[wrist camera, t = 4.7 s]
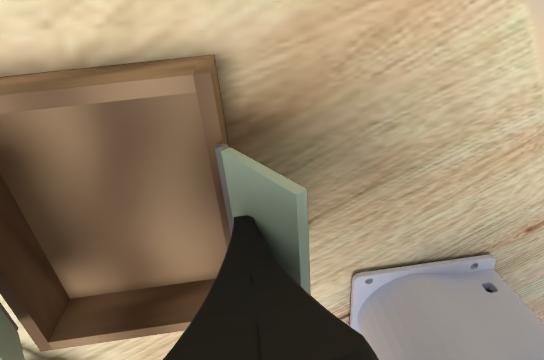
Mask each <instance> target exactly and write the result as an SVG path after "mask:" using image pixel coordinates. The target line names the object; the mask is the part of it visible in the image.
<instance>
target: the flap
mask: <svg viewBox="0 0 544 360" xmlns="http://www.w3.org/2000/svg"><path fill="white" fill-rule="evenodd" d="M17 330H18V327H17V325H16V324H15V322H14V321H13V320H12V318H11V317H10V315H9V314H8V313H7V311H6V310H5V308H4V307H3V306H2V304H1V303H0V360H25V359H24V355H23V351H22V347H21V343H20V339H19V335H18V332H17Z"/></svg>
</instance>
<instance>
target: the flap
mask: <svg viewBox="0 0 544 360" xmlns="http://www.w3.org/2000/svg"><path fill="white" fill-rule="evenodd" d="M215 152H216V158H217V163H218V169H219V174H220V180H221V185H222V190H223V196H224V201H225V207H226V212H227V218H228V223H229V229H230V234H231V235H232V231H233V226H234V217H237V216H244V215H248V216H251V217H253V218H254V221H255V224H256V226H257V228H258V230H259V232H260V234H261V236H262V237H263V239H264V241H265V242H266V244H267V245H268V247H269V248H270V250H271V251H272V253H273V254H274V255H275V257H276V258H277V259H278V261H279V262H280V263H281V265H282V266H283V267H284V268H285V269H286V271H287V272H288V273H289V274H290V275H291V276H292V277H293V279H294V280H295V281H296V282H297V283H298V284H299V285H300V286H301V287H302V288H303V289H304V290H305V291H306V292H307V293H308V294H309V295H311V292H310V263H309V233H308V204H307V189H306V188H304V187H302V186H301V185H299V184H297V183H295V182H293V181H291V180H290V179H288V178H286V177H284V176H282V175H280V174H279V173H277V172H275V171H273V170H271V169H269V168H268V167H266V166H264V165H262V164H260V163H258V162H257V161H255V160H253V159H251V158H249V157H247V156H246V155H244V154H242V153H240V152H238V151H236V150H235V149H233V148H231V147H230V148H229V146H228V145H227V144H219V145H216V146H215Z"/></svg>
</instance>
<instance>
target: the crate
mask: <svg viewBox="0 0 544 360" xmlns="http://www.w3.org/2000/svg"><path fill="white" fill-rule="evenodd" d="M219 144H227V145H228V146H229V144H228V138H227V132H226V125H225V119H224V113H223V107H222V100H221V94H220V88H219V82H218V75H217V69H216V63H215V56H214V55H206V56H197V57H187V58H178V59H168V60H159V61H149V62H140V63H130V64H121V65H111V66H102V67H92V68H83V69H73V70H63V71H54V72H44V73H35V74H25V75H16V76H6V77H0V294H1V295H2V297H3V298H4V300H5V301H6V302H7V304H8V305H9V307H10V308H11V310H12V311H13V312H14V314H15V315H16V317H17V318H18V320H19V321H20V322H21V324H22V325H23V327H24V328H25V330H26V331H27V332H28V334H29V335H30V337H31V338H32V340H33V341H34V342H35V344H36V345H37V347H38V348H39V350H40V351H48V350H55V349H61V348H68V347H75V346H82V345H89V344H95V343H102V342H109V341H116V340H123V339H130V338H136V337H143V336H150V335H157V334H164V333H170V332H177V331H184V330H186V329H187V327H188V326H189V325H190V323H191V322H192V320H193V319H194V317H195V315H196V314H197V312H198V311H199V309H200V307H201V306H202V304H203V302H204V300H205V299H206V297H207V295H208V293H209V291H210V289H211V287H212V285H213V283H214V281H215V279H216V277H217V275H218V272H219V270H220V268H221V265H222V263H223V260H224V258H225V255H226V252H227V249H228V246H229V243H230V239H231V234H230V229H229V223H228V218H227V212H226V207H225V201H224V196H223V190H222V185H221V180H220V174H219V169H218V163H217V158H216V152H215V146H216V145H219Z"/></svg>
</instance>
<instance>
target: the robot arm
mask: <svg viewBox="0 0 544 360" xmlns="http://www.w3.org/2000/svg"><path fill="white" fill-rule="evenodd" d="M495 264H496V259H495V258H494V257H493V256H492V255H481V256H474V257H467V258H460V259H453V260H446V261H439V262H432V263H425V264H418V265H411V266H404V267H397V268H389V269H382V270H375V271H368V272H361V273H357V274H355V275H354V276H353V278H352V291H351V309H350V326H348V325H347V324H345V323H344V322H343V321H341V320H340V319H339V318H337V317H336V316H335V315H333V314H332V313H331V312H329V311H328V310H327V309H326V308H324V307H323V306H322V305H321V304H320V303H319V302H318V301H316V300H315V299H314V298H313V297H312V296H311V295H309V294H308V293H307V292H306V291H305V290H304V289H303V288H302V287H301V286H300V285H299V284H298V283H297V282H296V281H295V280H294V279H293V277H292V276H291V275H290V274H289V273H288V272H287V271H286V269H285V268H284V267H283V266H282V265H281V263H280V262H279V261H278V259H277V258H276V257H275V255H274V254H273V253H272V251H271V250H270V248H269V247H268V245H267V244H266V242H265V241H264V239H263V237H262V236H261V234H260V232H259V230H258V228H257V226H256V224H255V221H254V218H253V217H251V216H248V215H244V216H237V217H234V226H233V231H232V235H231V239H230V243H229V246H228V249H227V252H226V255H225V258H224V260H223V263H222V265H221V268H220V270H219V272H218V275H217V277H216V279H215V281H214V283H213V285H212V287H211V289H210V291H209V293H208V295H207V297H206V299H205V300H204V302H203V304H202V306H201V307H200V309H199V311H198V312H197V314H196V315H195V317H194V319H193V320H192V322H191V323H190V325H189V326H188V327H187V329H186V330H185V332H184V333H183V334H182V336H181V337H180V339H179V340H178V341H177V343H176V344H175V345H174V347H173V348H172V349H171V351H170V352H169V353H168V354H167V355H166V356H165V358H164V359H163V360H544V324H543V322H542V321H541V320H540V319H539V318H538V317H537V316H536V315H535V314H534V313H533V312H532V311H531V309H530V308H529V307H528V306H527V305H526V304H525V303H524V302H523V301H522V300H521V299H520V297H519V296H518V295H517V294H516V293H515V292H514V291H513V290H512V289H511V288H510V287H509V286H508V284H507V283H506V282H505V281H504V280H503V279H502V278H501V277H500V276H499V275H498V274H497V273H496V271H495V270H494V267H495Z"/></svg>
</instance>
